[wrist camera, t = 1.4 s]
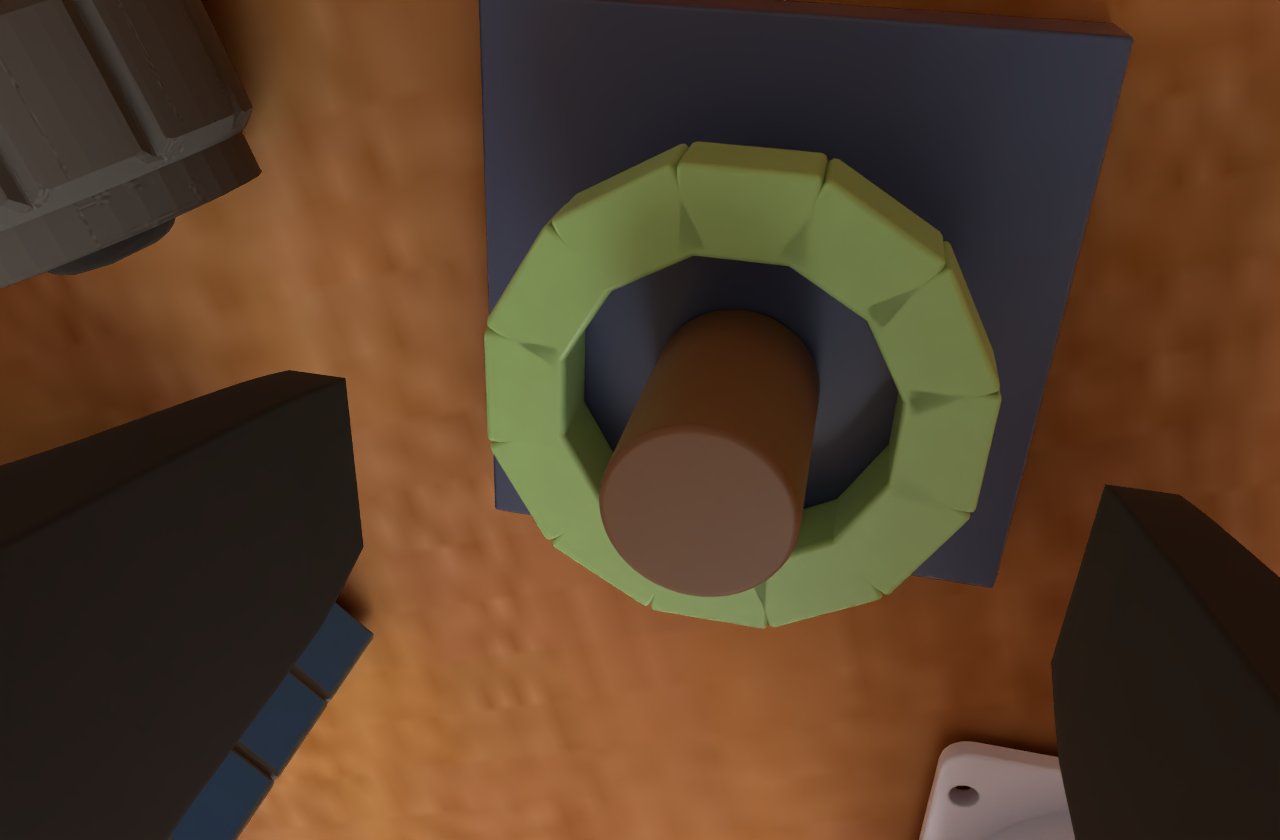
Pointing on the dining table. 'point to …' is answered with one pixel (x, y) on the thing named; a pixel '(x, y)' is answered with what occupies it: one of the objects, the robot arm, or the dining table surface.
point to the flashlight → (110, 128)
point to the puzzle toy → (275, 732)
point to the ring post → (778, 295)
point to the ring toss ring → (772, 234)
